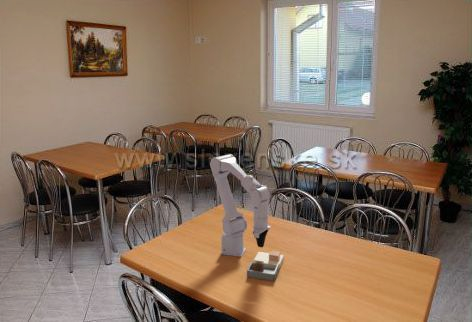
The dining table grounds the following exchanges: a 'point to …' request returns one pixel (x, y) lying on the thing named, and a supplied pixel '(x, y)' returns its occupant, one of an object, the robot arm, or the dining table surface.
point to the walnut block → (258, 266)
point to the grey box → (263, 273)
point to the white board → (268, 263)
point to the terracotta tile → (274, 255)
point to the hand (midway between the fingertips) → (260, 246)
